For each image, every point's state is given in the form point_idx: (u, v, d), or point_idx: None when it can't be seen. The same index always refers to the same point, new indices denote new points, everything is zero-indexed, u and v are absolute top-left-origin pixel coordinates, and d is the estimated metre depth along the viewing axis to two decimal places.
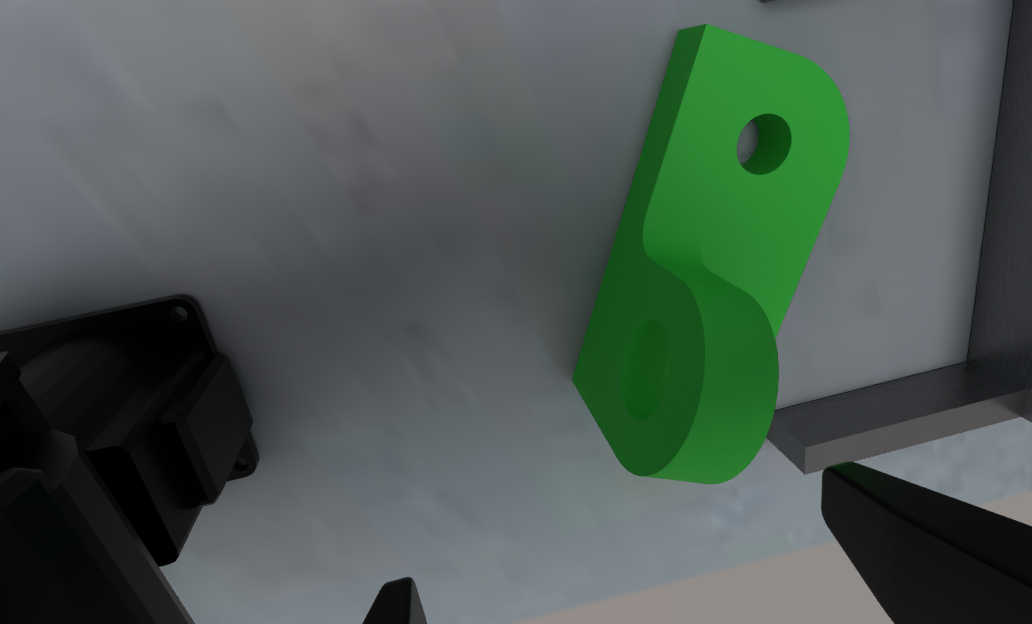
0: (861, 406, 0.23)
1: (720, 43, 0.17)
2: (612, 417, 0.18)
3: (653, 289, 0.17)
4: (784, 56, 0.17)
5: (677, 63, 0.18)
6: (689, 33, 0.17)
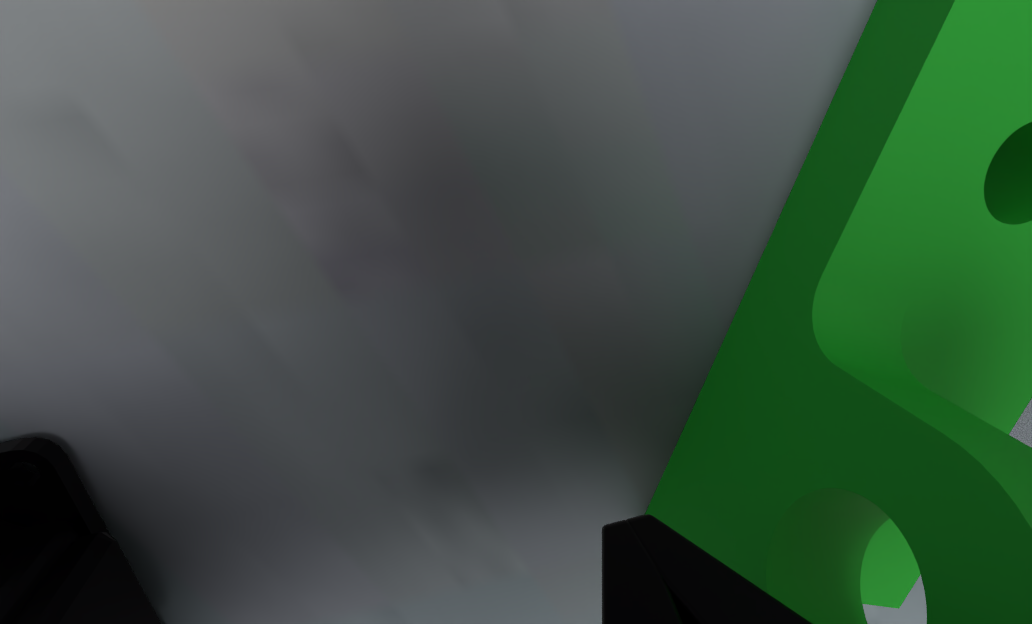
0: None
1: None
2: None
3: (852, 431, 0.09)
4: None
5: (892, 20, 0.10)
6: None
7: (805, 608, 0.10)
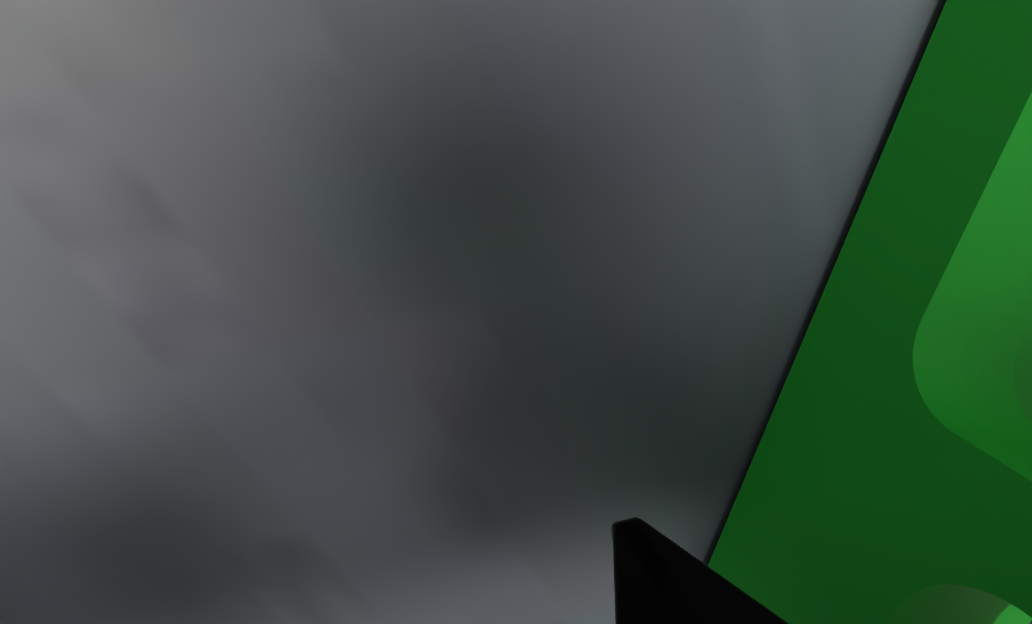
0: None
1: None
2: None
3: (985, 518, 0.07)
4: None
5: (992, 8, 0.08)
6: None
7: None
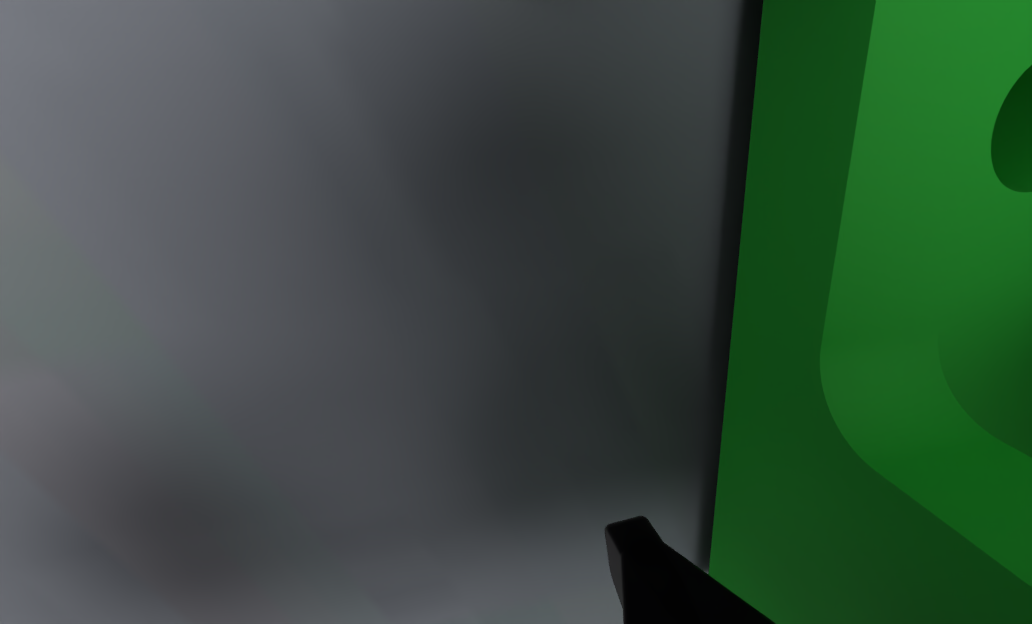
0: None
1: None
2: None
3: (920, 561, 0.07)
4: None
5: (805, 0, 0.07)
6: None
7: None
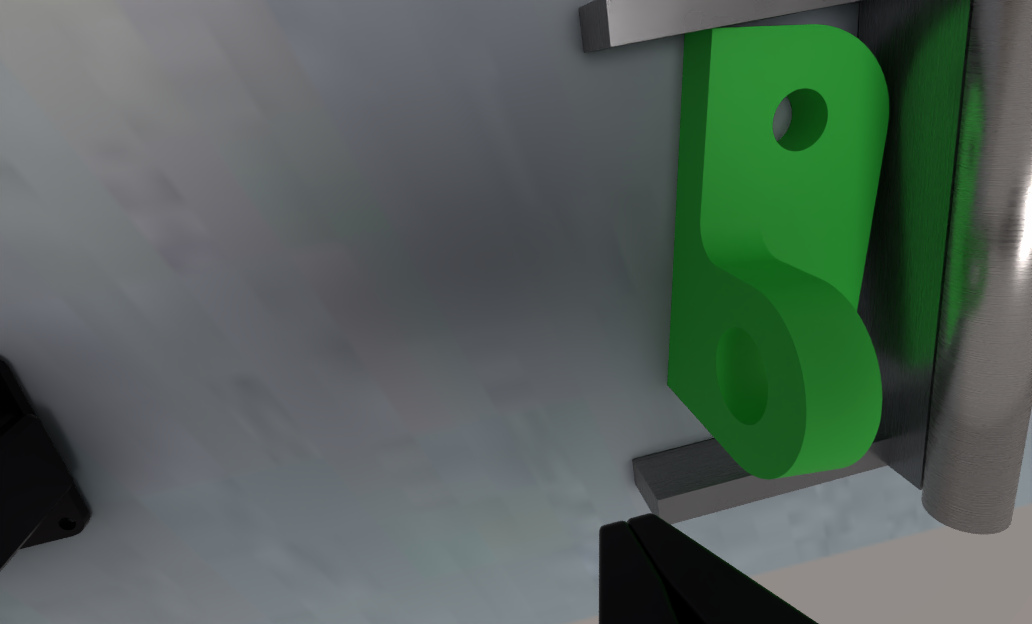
0: (726, 454, 0.23)
1: (731, 41, 0.17)
2: (719, 422, 0.18)
3: (728, 297, 0.17)
4: (799, 30, 0.17)
5: (692, 68, 0.18)
6: (696, 37, 0.17)
7: (745, 394, 0.18)
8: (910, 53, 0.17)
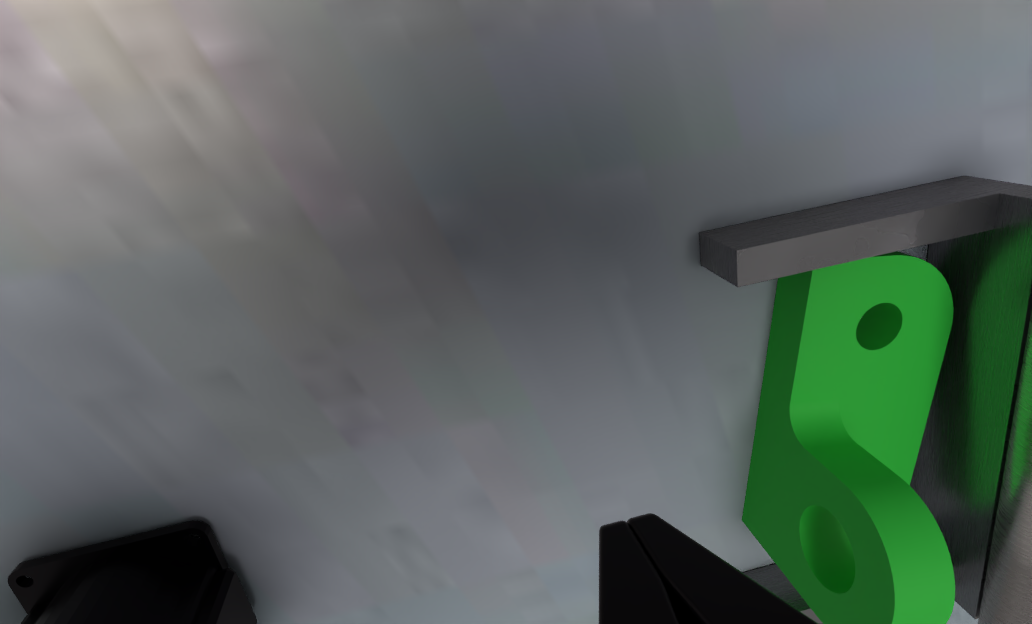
0: None
1: (828, 269, 0.20)
2: (800, 576, 0.22)
3: (816, 480, 0.20)
4: (884, 260, 0.20)
5: (789, 279, 0.21)
6: None
7: (823, 554, 0.21)
8: (978, 273, 0.20)
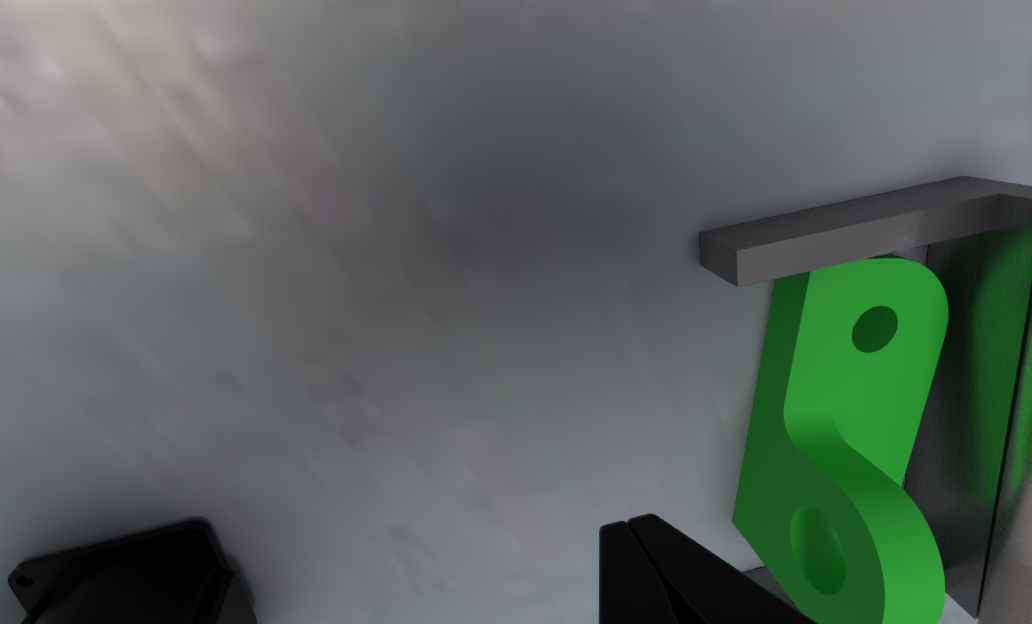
0: None
1: (826, 270, 0.20)
2: (789, 577, 0.22)
3: (809, 480, 0.20)
4: (881, 262, 0.20)
5: (786, 279, 0.21)
6: None
7: (814, 556, 0.21)
8: (978, 273, 0.20)
